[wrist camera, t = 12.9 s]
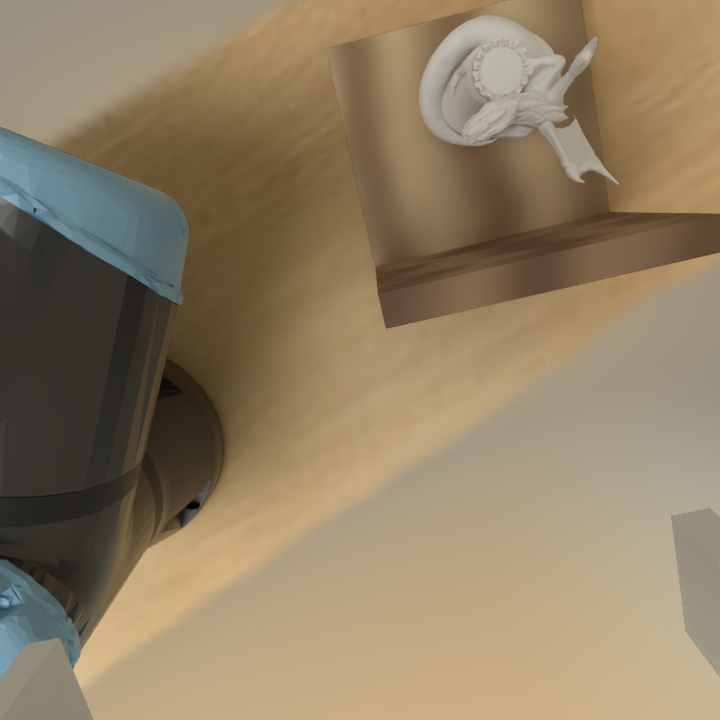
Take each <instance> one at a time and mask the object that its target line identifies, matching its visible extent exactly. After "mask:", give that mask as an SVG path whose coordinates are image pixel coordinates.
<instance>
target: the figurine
mask: <svg viewBox="0 0 720 720" xmlns="http://www.w3.org/2000/svg"><path fill="white" fill-rule="evenodd" d="M597 43H598V40H597V37H594V38H593V39H592V40H591V41H590V42H589V43H588V44H587V45H586V46H585V47H584V49H583V50H582V51H581V52H580V53H579V54H577V55H576V56H575V58H576V59H575V60H574V61H573V63H572V64H571V66H570V68H569V70H568V72H567V73H566V74H565V75H564V76H563V77H562V76H561V72H562V70H563V68H564V66H565V63H566V60H565V58H564V57H563V56H561V55H558V54H554V52H553V50H552V48H551V47H550V46H549V45H548V44H547V43H546V42H545V41H544V40H543V39H542V38H541V37H539V36H538V35H536V34H534V33H532V32H530V31H529V30H527V29H526V28H524V27H523V26H521V25H520V24H518V23H516V22H514V21H512V20H510V19H507V18H504V17H499V16H493V15H484V16H479V17H476V18H474V19H471V20H468V21H466V22H465V23H463V24H462V25H460V26H458V27H457V28H456V29H454V30H453V31H452V32H451V33H450V34H449V35H448V36H447V37H446V38H445V39H444V40H443V41H442V42H441V44H440V45H439V46H438V47H437V49H436V50H435V52H434V53H433V55H432V56H431V58H430V60H429V62H428V63H427V66H426V68H425V71H424V73H423V76H422V79H421V83H420V88H419V106H420V112H421V115H422V118H423V120H424V122H425V124H426V126H427V127H428V128H429V129H430V131H431V132H432V133H433V134H434V135H435V136H437V137H438V138H440V139H442V140H443V141H446V142H448V143H451V144H455V145H462V146H483V145H487V144H490V143H492V142H494V141H496V140H497V139H498V138H525V137H527V136H529V135H530V134H531V133H532V132H533V131H534V129H538V130H539V131H540V133H541V134H542V135H543V136H544V137H545V138H546V139H547V140H548V141H549V143H550V144H551V145H552V147H553V148H554V150H555V152H556V154H557V155H558V157H559V159H560V161H561V165H562V167H563V168H564V169H565V170H566V174H567V176H568V177H569V178H571V179H572V180H574V181H575V182H578V183H585V182H584V181H583V180H581V178H580V176H581V175H582V174H584V173H586V172H588V171H595V172H596V173H599V174H601V175H603V176H604V177H606V178H608V179H609V180H611V181H612V182H614V183H615V184H616V185H619V183H618V182H617V181H616V180H615V179H614V178H613V177H612V175H611V174H610V173H609V172H608V171H607V170H606V169H605V167H604V166H603V165H602V163H601V161H600V160H599V158H598V157H597V156H596V155H595V153H594V151H593V149H592V147H591V146H590V144H589V143H588V141H587V139H586V137H585V136H584V134H583V132H582V130H581V128H580V126H579V123H578V121H577V119H576V118H575V119H574V121H573V122H572V124H571V125H570V126H568V127H565V128H555V126H554V124H553V123H559V122H562V121H564V120H566V119H568V118H569V117H567V116H566V115H565V114H564V112H563V111H565V110H566V108H567V107H569V106H565V105H564V104H563V100H564V94H565V92H566V91H567V89H568V88H569V86H570V85H571V83H572V82H573V81H574V79H575V78H576V77H577V76H578V75H579V74H581V73H582V72H583V70H584V69H585V68H586V67H587V66H588V64H589V62H590V60H591V58H592V57H593V55H594V51H595V49H596V48H597ZM469 53H470V54H469ZM468 54H469V55H468ZM574 117H575V116H574ZM491 137H492V138H495V139H492V140H488V139H490V138H491ZM486 140H488V141H486Z"/></svg>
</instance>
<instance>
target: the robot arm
mask: <svg viewBox="0 0 720 720" xmlns="http://www.w3.org/2000/svg"><path fill="white" fill-rule="evenodd" d="M188 241H189V226H188V222H187V219H186V216H185V214H184V212H183V210H182V209H181V207H180V206H179V205H178V204H177V203H176V202H175V201H174V200H173V199H172V198H171V197H170V196H169V195H167V194H165V193H164V192H161V191H159V190H157V189H155V188H152V187H150V186H148V185H145V184H143V183H140V182H138V181H135V180H133V179H130V178H128V177H125V176H123V175H120V174H118V173H115V172H113V171H110V170H108V169H105V168H103V167H100V166H98V165H95V164H93V163H90V162H88V161H85V160H83V159H80V158H78V157H75V156H72V155H70V154H67V153H65V152H62V151H60V150H57V149H55V148H52V147H50V146H47V145H45V144H42V143H40V142H37V141H35V140H32V139H30V138H27V137H25V136H22V135H20V134H17V133H15V132H12V131H9V130H7V129H4V128H2V127H0V720H93V718H92V715H91V713H90V710H89V708H88V706H87V703H86V701H85V698H84V696H83V693H82V691H81V689H80V686H79V684H78V681H77V679H76V676H75V674H74V672H73V668H74V666H75V663H76V662H77V661H78V658H79V657H80V651H81V649H82V648H83V646H84V645H85V643H86V642H87V640H88V639H89V637H90V636H91V634H92V632H93V631H94V629H95V628H96V626H97V625H98V623H99V622H100V620H101V619H102V617H103V616H104V614H105V612H106V611H107V609H108V608H109V606H110V605H111V603H112V602H113V600H114V599H115V597H116V595H117V594H118V592H119V591H120V589H121V588H122V586H123V585H124V583H125V582H126V580H127V578H128V577H129V575H130V574H131V572H132V571H133V569H134V568H135V566H136V565H137V563H138V561H139V560H140V558H141V557H142V555H143V554H144V552H145V551H146V549H148V548H150V547H151V546H153V545H155V544H157V543H159V542H160V541H162V540H164V539H166V538H168V537H169V536H171V535H173V534H175V533H176V532H178V531H179V530H181V529H182V528H183V527H184V526H186V525H187V524H188V523H189V522H190V521H191V520H192V519H193V518H194V517H195V516H196V515H197V514H198V513H199V511H200V510H201V509H202V507H203V506H204V504H205V503H206V501H207V499H208V498H209V496H210V494H211V492H212V490H213V489H214V487H215V485H216V483H217V480H218V478H219V475H220V471H221V467H222V462H223V436H222V430H221V426H220V422H219V419H218V417H217V414H216V412H215V409H214V407H213V405H212V404H211V402H210V400H209V398H208V397H207V395H206V394H205V392H204V391H203V390H202V388H201V387H200V386H199V385H198V384H197V383H196V382H195V380H194V379H193V378H192V377H191V376H189V375H188V374H187V373H186V372H185V371H184V370H182V369H181V368H180V367H178V366H177V365H175V364H174V363H172V362H170V361H169V360H167V359H166V356H167V352H168V347H169V343H170V338H171V333H172V329H173V324H174V320H175V315H176V311H177V306H178V305H182V302H183V299H184V298H183V294H182V292H181V290H180V289H181V283H182V276H183V271H184V265H185V259H186V253H187V247H188ZM671 518H672V525H673V534H674V541H675V550H676V557H677V566H678V574H679V581H680V590H681V598H682V606H683V614H684V621H685V629H686V632H687V634H688V635H689V636H690V638H691V639H692V640H693V642H694V643H695V644H696V646H697V647H698V648H699V650H700V651H701V652H702V654H703V655H704V656H705V657H706V659H707V660H708V662H709V663H710V664H711V666H712V667H713V668H714V670H715V671H716V672H717V674H718V675H719V676H720V517H719V516H718V515H717V514H716V513H715V512H713V511H712V510H711V509H710V508H709V509H704V510H698V511H693V512H688V513H683V514H679V515H674V516H671Z"/></svg>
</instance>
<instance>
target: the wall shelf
mask: <svg viewBox="0 0 720 720" xmlns="http://www.w3.org/2000/svg"><path fill="white" fill-rule="evenodd" d="M484 15H493V16H499V17H504V18H507V19H510V20H512V21H514V22H516V23H518V24H520V25H521V26H523V27H524V28H526V29H527V30H529V31H530V32H532V33H534V34H536V35H538V36H539V37H541V38H542V39H543V40H544V41H545V42H546V43H547V44H548V45H549V46H550V47H551V48H552V50H553V52H554V54H558V55H561V56H563V57H564V58H565V60H566V63H565V66H564V68H563V70H562V72H561V76H562V77H563V76H564V75H565V74H566V73H567V72H568V70H569V68H570V66H571V64H572V63H573V61H574V60H575V59H576V58H575V56H576V55H577V54H579V53H580V52H581V51H582V50H583V49H584V47H585V46H586V45H587V41H586V33H585V26H584V18H583V11H582V3H581V0H509V1H505V2H502V3H498V4H494V5H490V6H486V7H483V8H479V9H475V10H471V11H467V12H464V13H460V14H456V15H452V16H449V17H445V18H441V19H437V20H433V21H430V22H426V23H422V24H418V25H414V26H411V27H407V28H403V29H399V30H396V31H392V32H388V33H384V34H380V35H377V36H373V37H369V38H365V39H361V40H358V41H354V42H350V43H346V44H342V45H339V46H335V47H331V48H327V49H326V52H327V57H328V61H329V65H330V70H331V74H332V79H333V83H334V87H335V92H336V96H337V101H338V105H339V109H340V114H341V118H342V122H343V127H344V131H345V136H346V140H347V144H348V149H349V153H350V157H351V162H352V166H353V171H354V175H355V179H356V184H357V188H358V192H359V197H360V201H361V206H362V210H363V214H364V219H365V223H366V228H367V232H368V236H369V241H370V245H371V249H372V254H373V258H374V263H375V267H376V277H377V288H378V296H379V300H380V304H381V309H382V313H383V317H384V322H385V326H386V329H387V328H391V327H395V326H400V325H404V324H408V323H413V322H417V321H422V320H426V319H430V318H435V317H439V316H443V315H448V314H452V313H457V312H461V311H465V310H470V309H474V308H479V307H483V306H487V305H492V304H496V303H500V302H505V301H509V300H514V299H518V298H522V297H527V296H531V295H535V294H540V293H544V292H549V291H553V290H557V289H562V288H566V287H570V286H575V285H579V284H584V283H588V282H592V281H597V280H601V279H606V278H610V277H614V276H619V275H623V274H627V273H632V272H636V271H641V270H645V269H649V268H654V267H658V266H662V265H667V264H671V263H676V262H680V261H684V260H689V259H693V258H697V257H702V256H706V255H711V254H715V253H719V252H720V214H698V213H626V212H609V205H608V198H607V190H606V183H605V177H604V176H603V175H601V174H599V173H596V172H595V171H588V172H586V173H584V174H582V175H581V176H580V178H581V180H583V181H584V182H585V183H578V182H575V181H574V180H572V179H571V178H569V177H568V176H567V174H566V170H565V169H564V168H563V167H562V165H561V161H560V159H559V157H558V155H557V154H556V152H555V150H554V148H553V147H552V145H551V144H550V143H549V141H548V140H547V139H546V138H545V137H544V136H543V135H542V134H541V133H540V131H539V130H538V129H534V131H533V132H532V133H531V134H530V135H529V136H527V137H525V138H498V139H497V140H496V141H494V142H492V143H490V144H487V145H483V146H462V145H455V144H451V143H448V142H446V141H443V140H442V139H440V138H438V137H437V136H435V135H434V134H433V133H432V132H431V131H430V129H429V128H428V127H427V126H426V124H425V122H424V120H423V118H422V115H421V112H420V106H419V88H420V83H421V79H422V76H423V73H424V71H425V68H426V66H427V63H428V62H429V60H430V58H431V56H432V55H433V53H434V52H435V50H436V49H437V47H438V46H439V45H440V44H441V42H442V41H443V40H444V39H445V38H446V37H447V36H448V35H449V34H450V33H451V32H452V31H453V30H454V29H456V28H457V27H458V26H460V25H462V24H463V23H465V22H466V21H468V20H471V19H474V18H476V17H479V16H484ZM469 54H470V53H469ZM469 54H468V55H469ZM563 104H564V105H565V106H569V107H567V108H566V110H565V111H563V112H564V114H565V115H566V116H567V117H569V118H568V119H566V120H564V121H562V122H559V123H553V124H554V126H555V128H565V127H568V126H570V125H571V124H572V122H573V121H574V119H575V118H576V119H577V121H578V123H579V126H580V128H581V130H582V132H583V134H584V136H585V137H586V139H587V141H588V143H589V144H590V146H591V147H592V149H593V151H594V153H595V155H596V156H597V157H598V158H599V160H600V161H601V163H602V165H603V160H602V153H601V145H600V138H599V130H598V123H597V115H596V108H595V100H594V93H593V86H592V78H591V71H590V63H589V64H588V66H587V67H586V68H585V69H584V70H583V72H582V73H581V74H579V75H578V76H577V77H576V78H575V79H574V81H573V82H572V83H571V85H570V86H569V88H568V89H567V91H566V92H565V94H564V100H563ZM574 116H575V117H574ZM492 139H495V138H492V137H491V138H490V139H488V140H492ZM488 140H486V141H488Z"/></svg>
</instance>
